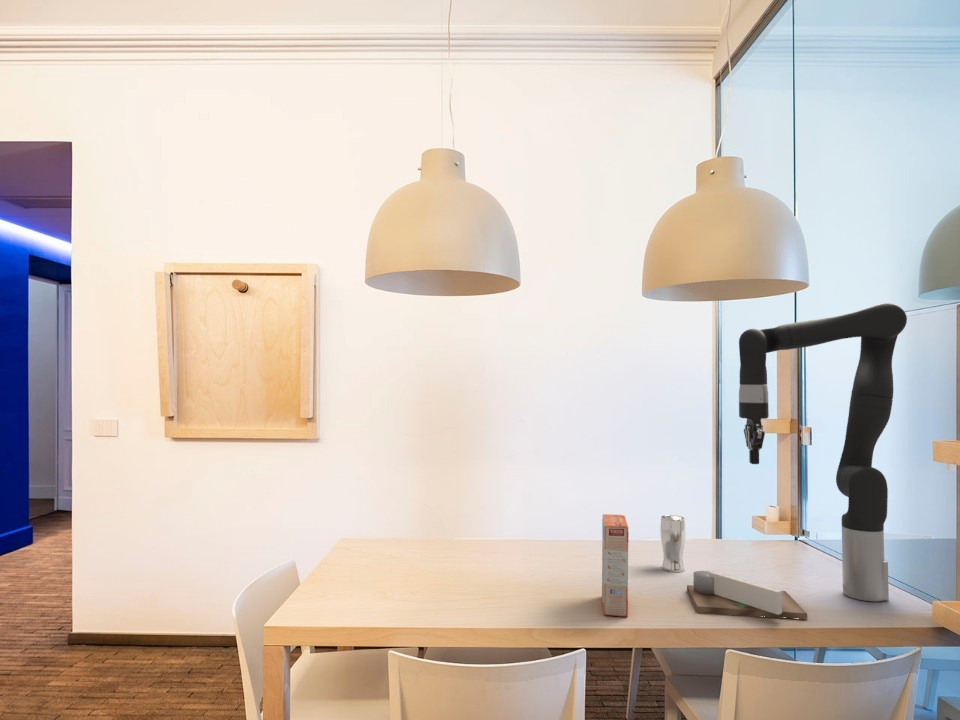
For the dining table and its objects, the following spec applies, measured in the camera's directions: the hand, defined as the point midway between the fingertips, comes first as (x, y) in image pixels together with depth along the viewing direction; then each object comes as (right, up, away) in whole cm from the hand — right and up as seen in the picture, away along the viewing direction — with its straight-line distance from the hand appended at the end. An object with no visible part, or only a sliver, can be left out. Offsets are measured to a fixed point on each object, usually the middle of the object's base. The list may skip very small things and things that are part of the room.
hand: (754, 463), depth 172 cm
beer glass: (-20, -33, +9) cm, 39 cm away
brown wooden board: (-12, -31, -20) cm, 39 cm away
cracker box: (-43, -31, -22) cm, 58 cm away
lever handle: (-14, -29, -22) cm, 39 cm away
